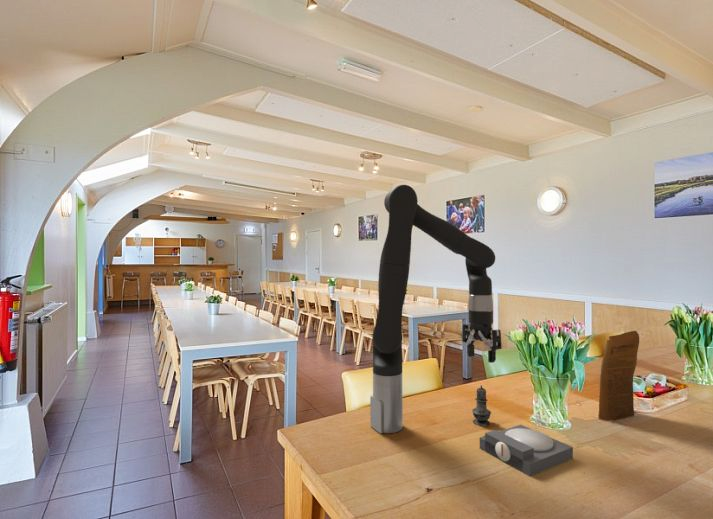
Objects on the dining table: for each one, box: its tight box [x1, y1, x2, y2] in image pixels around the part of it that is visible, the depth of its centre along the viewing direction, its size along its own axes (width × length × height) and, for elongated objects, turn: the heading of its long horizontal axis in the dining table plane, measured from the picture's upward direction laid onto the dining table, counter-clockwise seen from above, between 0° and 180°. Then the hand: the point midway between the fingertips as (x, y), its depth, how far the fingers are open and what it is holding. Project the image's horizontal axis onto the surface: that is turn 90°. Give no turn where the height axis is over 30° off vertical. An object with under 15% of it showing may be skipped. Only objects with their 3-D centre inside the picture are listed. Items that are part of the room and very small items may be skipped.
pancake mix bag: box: [598, 330, 640, 421], centre depth 129 cm, size 7×19×28 cm, turn 112°
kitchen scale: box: [479, 424, 574, 477], centre depth 105 cm, size 17×16×5 cm
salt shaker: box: [471, 384, 492, 427], centre depth 125 cm, size 6×6×12 cm
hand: (481, 359), depth 125 cm, fingers open, 8 cm apart
